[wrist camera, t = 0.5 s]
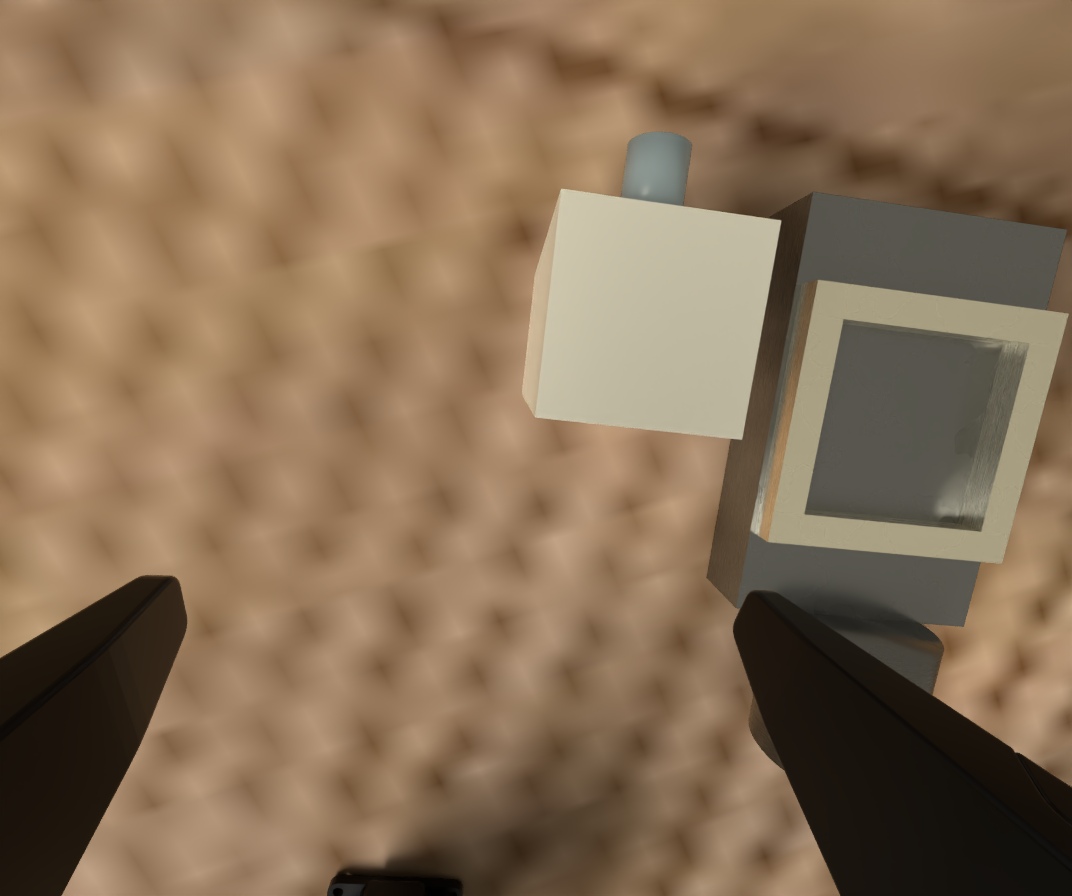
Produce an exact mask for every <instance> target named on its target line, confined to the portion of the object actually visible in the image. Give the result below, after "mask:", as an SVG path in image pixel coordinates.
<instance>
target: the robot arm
mask: <svg viewBox="0 0 1072 896" xmlns="http://www.w3.org/2000/svg"><path fill="white" fill-rule="evenodd" d="M186 628H187V614H186V610H185V605H184V600H183V596H182V591H181V586H180V583H179V581H178V579H177V578H176V577H173V576H163V575H145V576H140V577H138V578H136V579H134V580H132V581H131V582H129V583H127V584H126V585H124V586H122V587H120V588H119V589H117V590H115V591H114V592H112V593H110V594H109V595H107V596H105V597H103V598H102V599H100V600H98V601H97V602H95V603H93V604H91V605H90V606H88V607H86V608H85V609H83V610H81V611H80V612H78V613H76V614H74V615H73V616H71V617H69V618H68V619H66V620H64V621H62V622H61V623H59V624H57V625H56V626H54V627H52V628H51V629H49V630H47V631H45V632H44V633H42V634H40V635H39V636H37V637H35V638H33V639H32V640H30V641H28V642H27V643H25V644H23V645H22V646H20V647H18V648H16V649H15V650H13V651H11V652H10V653H8V654H6V655H4V656H3V657H1V658H0V896H61V895H62V894H63V892H64V890H65V888H66V886H67V884H68V882H69V880H70V878H71V876H72V875H73V873H74V871H75V869H76V867H77V865H78V863H79V861H80V859H81V857H82V856H83V854H84V852H85V850H86V848H87V846H88V844H89V842H90V840H91V838H92V837H93V835H94V833H95V831H96V829H97V827H98V825H99V823H100V821H101V819H102V818H103V816H104V814H105V812H106V810H107V808H108V806H109V804H110V802H111V800H112V798H113V797H114V795H115V793H116V791H117V789H118V787H119V785H120V783H121V781H122V779H123V778H124V776H125V774H126V772H127V770H128V768H129V766H130V764H131V762H132V760H133V758H134V756H135V754H136V752H137V750H138V748H139V746H140V744H141V742H142V739H143V737H144V735H145V732H146V730H147V728H148V725H149V723H150V720H151V718H152V715H153V713H154V710H155V708H156V705H157V703H158V700H159V698H160V695H161V693H162V690H163V688H164V685H165V683H166V681H167V678H168V676H169V673H170V671H171V668H172V666H173V663H174V661H175V658H176V656H177V653H178V651H179V648H180V646H181V643H182V641H183V638H184V635H185V632H186ZM733 634H734V638H735V641H736V644H737V647H738V650H739V653H740V656H741V659H742V662H743V665H744V668H745V671H746V674H747V677H748V679H749V682H750V685H751V688H752V691H753V694H754V697H755V700H756V703H757V706H758V709H759V711H760V714H761V717H762V719H763V722H764V725H765V727H766V729H767V732H768V734H769V737H770V739H771V741H772V743H773V746H774V748H775V750H776V752H777V755H778V757H779V759H780V761H781V764H782V766H783V768H784V770H785V773H786V775H787V777H788V779H789V781H790V784H791V786H792V788H793V790H794V793H795V795H796V797H797V799H798V802H799V804H800V806H801V808H802V811H803V813H804V815H805V817H806V820H807V822H808V824H809V826H810V829H811V831H812V833H813V835H814V838H815V840H816V842H817V844H818V846H819V849H820V851H821V853H822V855H823V858H824V860H825V862H826V864H827V867H828V869H829V871H830V873H831V876H832V878H833V880H834V882H835V885H836V887H837V889H838V891H839V894H840V896H1072V787H1070V786H1069V785H1067V784H1066V783H1064V782H1063V781H1061V780H1060V779H1058V778H1057V777H1055V776H1053V775H1052V774H1050V773H1049V772H1047V771H1046V770H1044V769H1043V768H1041V767H1040V766H1038V765H1037V764H1035V763H1034V762H1032V761H1031V760H1029V759H1028V758H1026V757H1025V756H1023V755H1022V754H1020V753H1015V752H1014V750H1013V749H1012V748H1011V747H1010V746H1008V745H1007V744H1005V743H1004V742H1002V741H1001V740H999V739H998V738H996V737H995V736H993V735H992V734H990V733H988V732H987V731H985V730H984V729H982V728H981V727H979V726H978V725H976V724H975V723H973V722H972V721H970V720H969V719H967V718H966V717H964V716H963V715H961V714H960V713H958V712H957V711H955V710H954V709H952V708H951V707H949V706H948V705H946V704H945V703H943V702H942V701H940V700H939V699H937V698H936V697H934V696H933V695H931V694H930V693H928V692H927V691H925V690H924V689H922V688H921V687H919V686H918V685H916V684H915V683H913V682H912V681H910V680H909V679H907V678H905V677H904V676H902V675H901V674H899V673H898V672H896V671H895V670H893V669H892V668H890V667H889V666H887V665H886V664H884V663H883V662H881V661H880V660H878V659H877V658H875V657H874V656H872V655H871V654H869V653H868V652H866V651H865V650H863V649H862V648H860V647H859V646H857V645H856V644H854V643H853V642H851V641H850V640H848V639H847V638H845V637H844V636H842V635H841V634H839V633H838V632H836V631H835V630H833V629H832V628H830V627H829V626H827V625H826V624H824V623H823V622H821V621H820V620H818V619H817V618H815V617H814V616H812V615H810V614H809V613H807V612H806V611H804V610H803V609H801V608H800V607H798V606H797V605H795V604H794V603H792V602H791V601H789V600H788V599H786V598H785V597H783V596H782V595H780V594H779V593H777V592H775V591H772V590H752V591H750V592H749V593H748V594H747V596H746V598H745V600H744V602H743V604H742V606H741V608H740V610H739V613H738V615H737V617H736V619H735V621H734V625H733ZM327 896H463V884H462V883H461V882H460V881H458V880H455V879H433V878H406V877H379V876H353V875H338V876H335V877H334V878H333V879H332V880H331V882H330V885H329V888H328V892H327Z"/></svg>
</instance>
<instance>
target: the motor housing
mask: <svg viewBox="0 0 1072 896" xmlns="http://www.w3.org/2000/svg"><path fill="white" fill-rule="evenodd" d="M769 219H775V220H781V225H780V231H779V237H778V242H777V248H776V253H775V259H774V265H773V270H772V276H771V281H770V287H769V292H768V298H767V304H766V309H765V315H764V320H763V326H762V331H761V337H760V343H759V348H758V354H757V359H756V365H755V371H754V376H753V382H752V387H751V393H750V398H749V404H748V410H747V415H746V421H745V426H744V432H743V437H742V440H739V439H731V441H730V447H729V453H728V458H727V464H726V470H725V476H724V481H723V487H722V493H721V499H720V504H719V510H718V516H717V521H716V527H715V533H714V539H713V544H712V550H711V556H710V562H709V567H708V573H707V578H708V579H709V580H710V582H711V583H712V584H713V585H714V586H715V587H716V588H717V589H718V590H719V591H720V592H721V593H722V594H723V595H724V596H725V597H726V598H727V599H728V600H729V601H730V602H731V603H732V604H733V606H734V607H735V608H741V606H742V604H743V602H744V600H745V598H746V596H747V594H748V593H749V592H750V591H752V590H772V591H775V592H777V593H779V594H780V595H782V596H783V597H785V598H786V599H788V600H789V601H791V602H792V603H794V604H795V605H797V606H798V607H800V608H801V609H803V610H804V611H806V612H807V613H809V614H810V615H812V616H814V617H815V618H817V619H818V620H820V621H821V622H823V623H824V624H826V625H827V626H829V627H830V628H832V629H833V630H835V631H836V632H838V633H839V634H841V635H842V636H844V637H845V638H847V639H848V640H850V641H851V642H853V643H854V644H856V645H857V646H859V647H860V648H862V649H863V650H865V651H866V652H868V653H869V654H871V655H872V656H874V657H875V658H877V659H878V660H880V661H881V662H883V663H884V664H886V665H887V666H889V667H890V668H892V669H893V670H895V671H896V672H898V673H899V674H901V675H902V676H904V677H905V678H907V679H909V680H910V681H912V682H913V683H915V684H916V685H918V686H919V687H921V688H922V689H924V690H925V691H927V692H928V693H930V694H931V695H932V694H933V691H934V687H935V683H936V679H937V675H938V671H939V667H940V663H941V659H942V655H943V652H944V646H943V644H942V642H941V641H940V639H939V638H938V637H937V636H936V635H935V634H934V633H933V632H931V631H930V630H929V629H927V628H926V627H925V626H923V625H922V624H920V623H924V624H936V625H948V626H961V627H964V623H965V620H966V616H967V612H968V608H969V604H970V601H971V597H972V593H973V589H974V585H975V581H976V578H977V574H978V570H979V566H980V562H988V563H999V564H1002V561H1003V558H1004V554H1005V550H1006V546H1007V543H1008V539H1009V535H1010V531H1011V528H1012V524H1013V520H1014V516H1015V513H1016V509H1017V505H1018V502H1019V498H1020V494H1021V490H1022V487H1023V483H1024V479H1025V475H1026V472H1027V468H1028V464H1029V460H1030V457H1031V453H1032V449H1033V446H1034V442H1035V438H1036V434H1037V431H1038V427H1039V423H1040V419H1041V416H1042V412H1043V408H1044V404H1045V401H1046V397H1047V393H1048V390H1049V386H1050V382H1051V378H1052V375H1053V371H1054V367H1055V363H1056V360H1057V356H1058V352H1059V348H1060V345H1061V341H1062V337H1063V334H1064V330H1065V326H1066V322H1067V319H1068V315H1069V314H1068V313H1061V312H1053V311H1046V309H1047V305H1048V302H1049V298H1050V294H1051V290H1052V286H1053V282H1054V279H1055V275H1056V271H1057V267H1058V263H1059V259H1060V256H1061V252H1062V248H1063V244H1064V240H1065V236H1066V233H1067V230H1066V229H1059V228H1052V227H1046V226H1039V225H1032V224H1025V223H1019V222H1012V221H1005V220H999V219H992V218H985V217H978V216H972V215H965V214H958V213H952V212H945V211H938V210H931V209H925V208H918V207H911V206H905V205H898V204H891V203H885V202H878V201H871V200H864V199H858V198H851V197H844V196H838V195H831V194H824V193H817V192H812V193H811V194H809V195H807V196H805V197H804V198H802V199H800V200H798V201H797V202H795V203H793V204H792V205H790V206H788V207H786V208H785V209H783V210H781V211H779V212H778V213H776V214H774V215H773V216H771V217H770V218H769ZM749 727H750V731H751V733H752V736H753V737H754V739H755V741H756V742H757V744H758V745H759V746H760V748H761V749H762V750H763V751H764V753H765V754H766V755H767V756H768V757H769V758H770V759H771V760H772V761H773V762H775V763H776V764H777V765H778V766H779V767H780V768H782V769H783V770H784V768H783V766H782V764H781V761H780V759H779V757H778V755H777V752H776V750H775V748H774V746H773V743H772V741H771V739H770V737H769V734H768V732H767V729H766V727H765V725H764V722H763V719H762V717H761V714H760V711H759V709H758V706H757V703H756V700H755V697H754V695H753V700H752V705H751V710H750V715H749ZM784 771H785V770H784Z"/></svg>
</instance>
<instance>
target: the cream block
mask: <svg viewBox="0 0 1072 896" xmlns="http://www.w3.org/2000/svg"><path fill="white" fill-rule="evenodd" d="M691 150H692V144H691V142H690V141H689V140H688V139H686V138H685V137H683V136H681V135H678V134H674V133H669V132H649V133H644V134H641V135H638V136H636V137H634V138H632V139H631V140H630V141H629V143H628V147H627V155H626V162H625V170H624V178H623V185H622V193H621V197H615V196H608V195H601V194H594V193H587V192H580V191H573V190H566V189H561V191H560V194H559V198H558V201H557V204H556V208H555V211H554V214H553V217H552V221H551V224H550V227H549V230H548V234H547V237H546V240H545V244H544V247H543V250H542V253H541V257H540V260H539V263H538V267H537V270H536V273H535V280H534V289H533V298H532V307H531V316H530V326H529V335H528V344H527V353H526V362H525V371H524V380H523V390H522V396H523V397H524V399H525V401H526V402H527V404H528V406H529V408H530V409H531V411H532V413H533V415H534V416H535V417H536V418H545V419H554V420H564V421H573V422H582V423H591V424H600V425H610V426H619V427H628V428H637V429H647V430H656V431H665V432H674V433H684V434H693V435H702V436H711V437H720V438H730V439H739V440H742V437H743V432H744V426H745V421H746V415H747V410H748V404H749V398H750V393H751V387H752V382H753V376H754V371H755V365H756V359H757V354H758V348H759V343H760V337H761V331H762V326H763V320H764V315H765V309H766V304H767V298H768V292H769V287H770V281H771V276H772V270H773V265H774V259H775V253H776V248H777V242H778V237H779V231H780V225H781V220H775V219H768V218H761V217H754V216H747V215H740V214H733V213H726V212H719V211H712V210H705V209H698V208H691V207H684V206H683V204H684V197H685V190H686V184H687V177H688V170H689V164H690V157H691Z"/></svg>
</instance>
